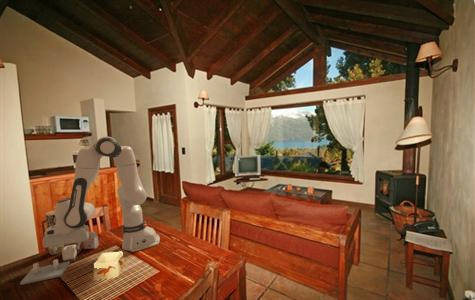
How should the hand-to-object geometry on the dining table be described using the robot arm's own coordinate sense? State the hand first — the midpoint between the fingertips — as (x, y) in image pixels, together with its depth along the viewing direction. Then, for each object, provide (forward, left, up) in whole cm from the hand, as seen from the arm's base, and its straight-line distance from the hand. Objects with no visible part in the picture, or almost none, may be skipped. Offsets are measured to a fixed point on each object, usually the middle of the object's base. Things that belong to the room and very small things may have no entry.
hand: (67, 250), depth 119 cm
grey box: (-9, -11, -6) cm, 15 cm away
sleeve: (-1, -1, -6) cm, 6 cm away
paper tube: (+9, -13, -6) cm, 17 cm away
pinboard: (+6, +9, -6) cm, 13 cm away
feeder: (-1, -9, -6) cm, 10 cm away
